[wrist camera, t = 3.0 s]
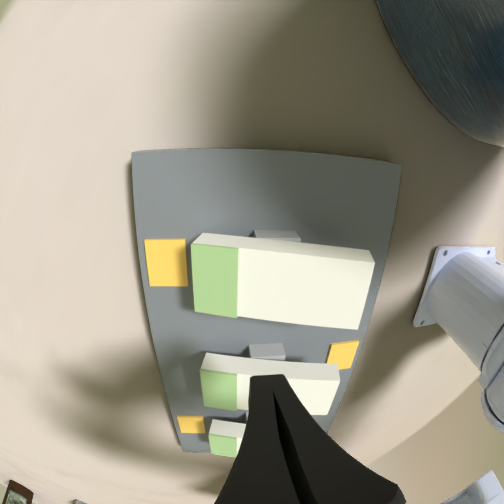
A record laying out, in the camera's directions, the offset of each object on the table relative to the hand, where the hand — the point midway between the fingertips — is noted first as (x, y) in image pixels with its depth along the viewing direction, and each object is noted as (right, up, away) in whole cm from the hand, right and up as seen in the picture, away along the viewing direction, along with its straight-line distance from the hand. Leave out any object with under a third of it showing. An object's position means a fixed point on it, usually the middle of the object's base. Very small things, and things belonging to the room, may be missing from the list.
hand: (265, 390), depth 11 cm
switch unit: (0, -2, +11) cm, 11 cm away
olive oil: (-77, -72, +32) cm, 111 cm away
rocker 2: (+1, +4, +4) cm, 6 cm away
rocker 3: (+1, -4, +7) cm, 8 cm away
